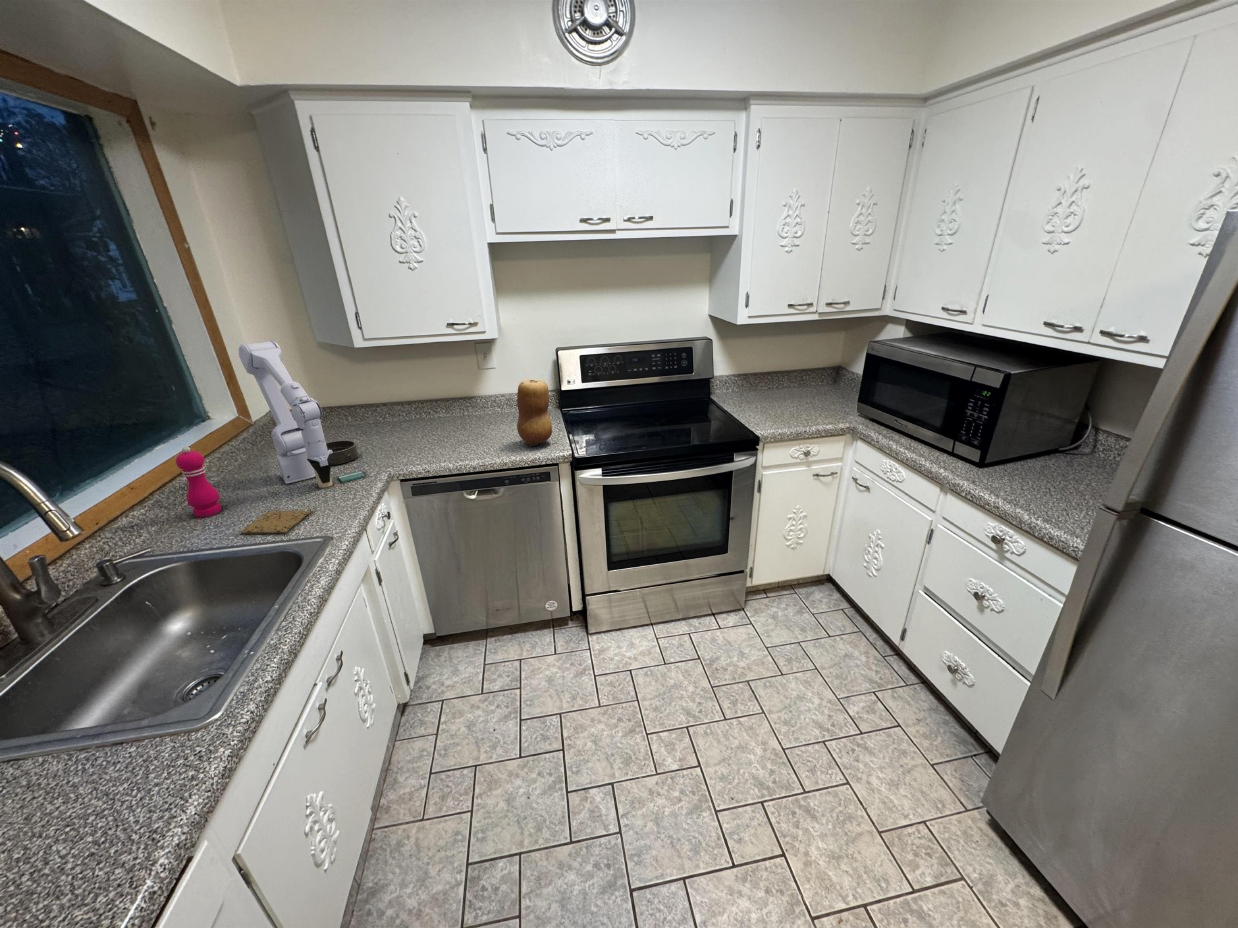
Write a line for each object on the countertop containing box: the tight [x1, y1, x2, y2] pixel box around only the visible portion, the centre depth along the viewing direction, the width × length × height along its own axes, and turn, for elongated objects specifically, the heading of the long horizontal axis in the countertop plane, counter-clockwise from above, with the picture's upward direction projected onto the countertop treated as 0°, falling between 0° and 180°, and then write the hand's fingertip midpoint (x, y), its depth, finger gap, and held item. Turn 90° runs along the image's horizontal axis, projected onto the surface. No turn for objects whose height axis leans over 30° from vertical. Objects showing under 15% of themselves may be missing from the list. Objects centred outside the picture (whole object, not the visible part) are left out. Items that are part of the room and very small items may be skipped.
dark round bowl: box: [326, 439, 359, 466], centre depth 181 cm, size 13×13×5 cm
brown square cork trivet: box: [241, 510, 312, 535], centre depth 138 cm, size 12×12×1 cm
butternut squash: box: [516, 378, 553, 447], centre depth 191 cm, size 14×13×25 cm
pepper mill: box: [175, 446, 223, 518], centre depth 141 cm, size 7×7×20 cm
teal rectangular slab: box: [337, 470, 366, 483], centre depth 167 cm, size 7×5×1 cm
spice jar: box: [313, 468, 333, 489], centre depth 160 cm, size 4×4×7 cm
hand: (324, 480), depth 161 cm, fingers closed on spice jar, 4 cm apart
